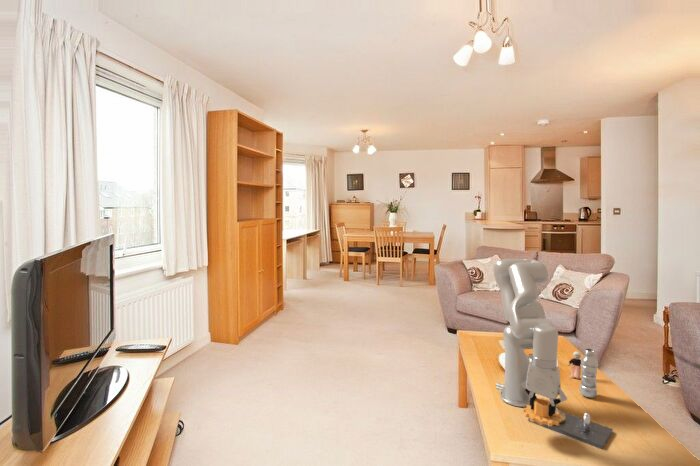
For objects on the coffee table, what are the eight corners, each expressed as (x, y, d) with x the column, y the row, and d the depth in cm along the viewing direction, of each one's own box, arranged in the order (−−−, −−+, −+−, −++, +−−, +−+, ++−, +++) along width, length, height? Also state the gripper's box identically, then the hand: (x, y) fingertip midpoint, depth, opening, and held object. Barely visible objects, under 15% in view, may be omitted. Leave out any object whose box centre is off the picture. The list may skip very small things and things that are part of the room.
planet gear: (518, 416, 135) (518, 402, 134) (531, 403, 143) (532, 390, 142) (553, 430, 127) (554, 415, 126) (565, 416, 135) (566, 402, 134)
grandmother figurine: (568, 378, 181) (569, 352, 180) (566, 375, 185) (567, 349, 184) (587, 380, 179) (588, 353, 179) (584, 377, 183) (585, 350, 182)
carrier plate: (528, 420, 146) (528, 402, 145) (542, 407, 155) (542, 390, 155) (602, 449, 128) (602, 428, 128) (612, 432, 138) (613, 412, 137)
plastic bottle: (577, 396, 164) (578, 350, 163) (581, 390, 169) (583, 346, 168) (594, 401, 160) (596, 354, 159) (599, 395, 165) (600, 350, 163)
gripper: (515, 357, 136) (513, 406, 138) (568, 373, 124) (565, 426, 126) (523, 351, 142) (522, 398, 143) (575, 365, 129) (572, 417, 131)
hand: (542, 410), depth 135 cm, fingers closed on planet gear, 5 cm apart
